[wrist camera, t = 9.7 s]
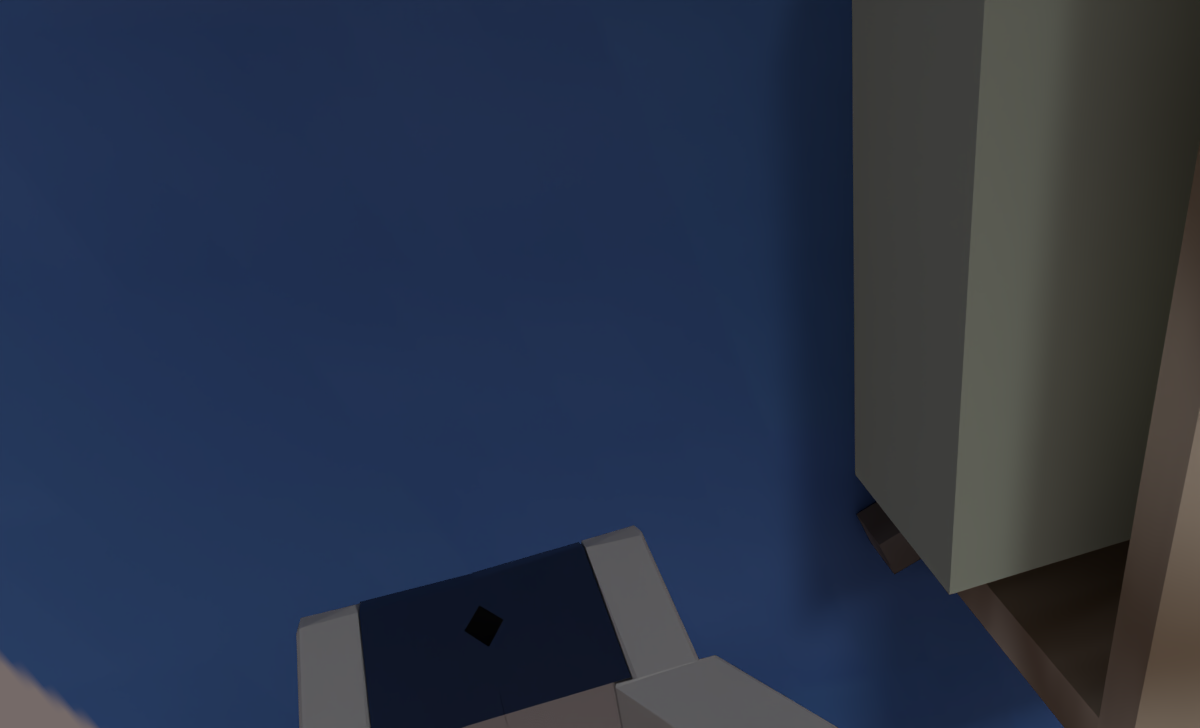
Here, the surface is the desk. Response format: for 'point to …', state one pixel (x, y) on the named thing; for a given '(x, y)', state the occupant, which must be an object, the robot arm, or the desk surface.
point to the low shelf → (1116, 566)
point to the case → (1015, 266)
